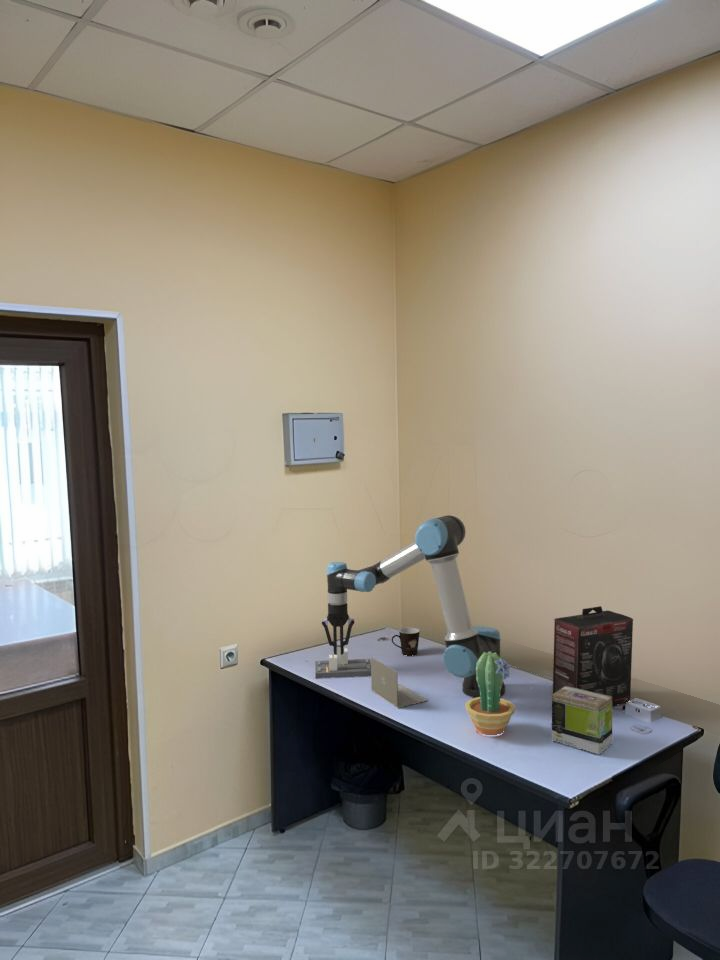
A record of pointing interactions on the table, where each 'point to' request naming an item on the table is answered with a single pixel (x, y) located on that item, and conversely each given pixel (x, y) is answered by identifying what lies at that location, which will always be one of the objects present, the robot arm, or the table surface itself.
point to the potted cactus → (490, 696)
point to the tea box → (582, 719)
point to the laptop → (391, 686)
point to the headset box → (594, 653)
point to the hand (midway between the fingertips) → (338, 662)
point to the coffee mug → (408, 640)
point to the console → (344, 669)
